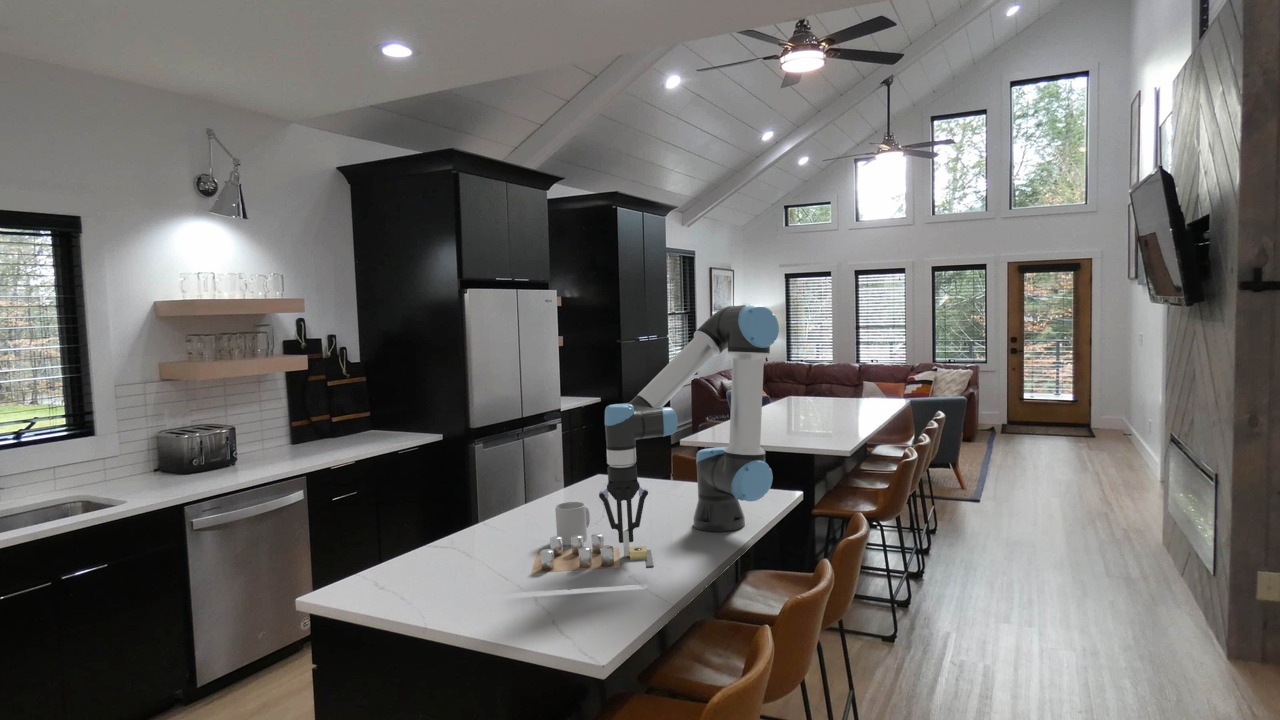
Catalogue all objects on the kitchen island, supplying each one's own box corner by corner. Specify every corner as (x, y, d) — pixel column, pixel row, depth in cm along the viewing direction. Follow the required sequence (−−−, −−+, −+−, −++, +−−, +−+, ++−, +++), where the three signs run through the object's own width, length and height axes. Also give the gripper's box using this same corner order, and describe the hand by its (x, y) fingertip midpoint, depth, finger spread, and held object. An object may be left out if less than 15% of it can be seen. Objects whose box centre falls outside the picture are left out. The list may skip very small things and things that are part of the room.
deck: (619, 551, 203) (618, 547, 203) (619, 571, 187) (619, 567, 187) (537, 556, 202) (537, 552, 202) (531, 577, 186) (531, 573, 186)
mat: (650, 550, 202) (650, 549, 202) (653, 567, 189) (653, 565, 189) (621, 552, 202) (620, 551, 202) (621, 569, 189) (621, 567, 189)
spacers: (613, 549, 202) (612, 532, 202) (614, 566, 188) (613, 548, 188) (545, 553, 202) (544, 536, 201) (541, 571, 187) (540, 553, 187)
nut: (646, 555, 197) (646, 545, 197) (647, 560, 193) (646, 551, 193) (629, 556, 197) (629, 546, 197) (630, 562, 193) (629, 552, 193)
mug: (574, 550, 206) (572, 510, 206) (551, 546, 211) (548, 507, 211) (601, 538, 216) (599, 500, 216) (578, 534, 221) (575, 497, 220)
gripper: (646, 460, 198) (651, 548, 199) (596, 463, 197) (601, 551, 198) (647, 465, 190) (652, 557, 191) (596, 468, 190) (601, 560, 191)
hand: (626, 554), depth 195 cm, fingers closed
